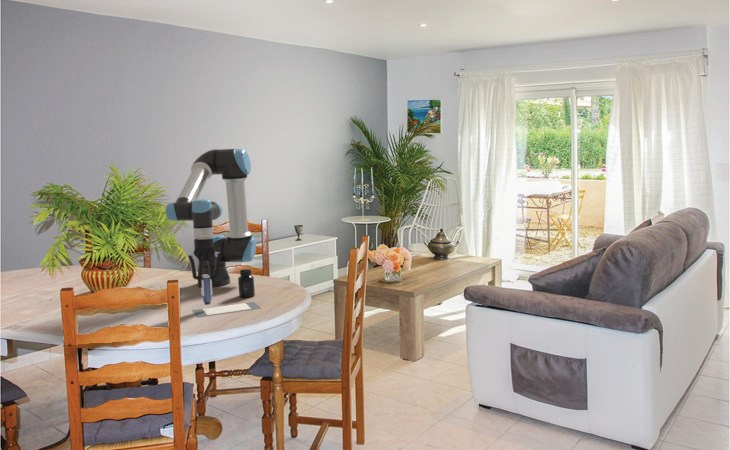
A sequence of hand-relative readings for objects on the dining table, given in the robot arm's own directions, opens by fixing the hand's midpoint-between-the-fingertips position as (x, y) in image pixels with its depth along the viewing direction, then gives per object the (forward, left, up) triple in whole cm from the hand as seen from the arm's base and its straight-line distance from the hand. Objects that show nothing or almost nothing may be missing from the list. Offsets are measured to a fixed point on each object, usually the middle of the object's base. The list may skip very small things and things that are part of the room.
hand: (206, 294), depth 257 cm
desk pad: (+3, +7, -7) cm, 10 cm away
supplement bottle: (-14, +20, -7) cm, 26 cm away
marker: (0, 0, -4) cm, 4 cm away
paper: (+3, +7, -6) cm, 10 cm away
